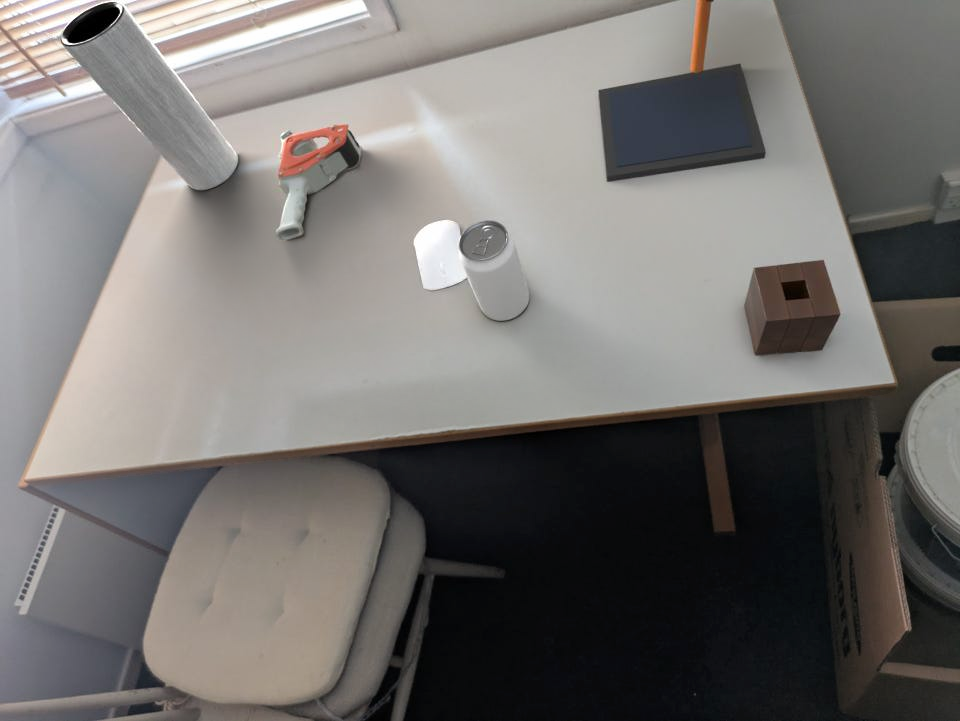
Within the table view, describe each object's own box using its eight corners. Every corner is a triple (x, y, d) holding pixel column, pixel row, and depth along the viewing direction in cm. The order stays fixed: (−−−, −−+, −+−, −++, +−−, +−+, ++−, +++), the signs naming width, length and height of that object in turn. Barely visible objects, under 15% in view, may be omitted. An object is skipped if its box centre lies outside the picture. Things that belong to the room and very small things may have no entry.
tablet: (739, 69, 85) (740, 62, 84) (764, 157, 76) (766, 151, 75) (598, 95, 89) (598, 89, 88) (607, 181, 81) (606, 175, 80)
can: (537, 285, 75) (520, 221, 65) (519, 327, 72) (499, 267, 62) (491, 276, 77) (467, 213, 67) (472, 317, 75) (445, 258, 65)
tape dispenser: (294, 255, 91) (390, 171, 92) (274, 234, 86) (377, 147, 88) (243, 199, 99) (333, 123, 101) (222, 178, 94) (317, 99, 96)
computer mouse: (423, 294, 79) (417, 284, 77) (413, 230, 85) (407, 219, 83) (471, 280, 78) (467, 269, 76) (457, 216, 84) (453, 204, 82)
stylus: (702, 65, 76) (716, -58, 65) (704, 72, 75) (719, -51, 64) (689, 67, 76) (701, -55, 65) (690, 74, 75) (703, -48, 64)
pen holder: (807, 298, 65) (823, 259, 59) (822, 350, 62) (841, 314, 56) (743, 305, 67) (753, 267, 61) (755, 355, 63) (766, 321, 58)
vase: (209, 198, 100) (80, 52, 77) (177, 181, 105) (47, 38, 82) (249, 158, 103) (136, 6, 80) (217, 143, 107) (101, -5, 85)
